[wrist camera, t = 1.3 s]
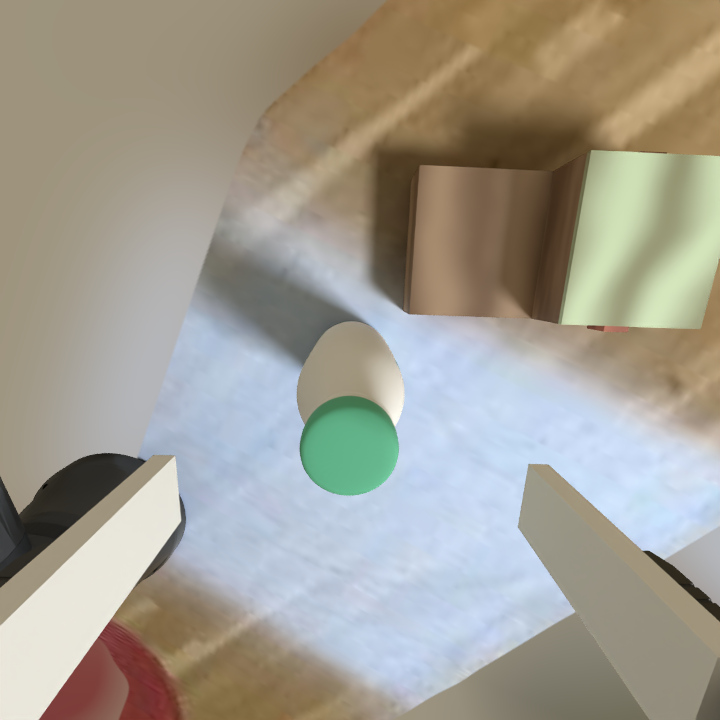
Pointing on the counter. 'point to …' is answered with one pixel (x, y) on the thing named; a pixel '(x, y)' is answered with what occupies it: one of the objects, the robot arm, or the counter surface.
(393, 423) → the milk bottle
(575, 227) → the plinth
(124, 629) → the counter surface
